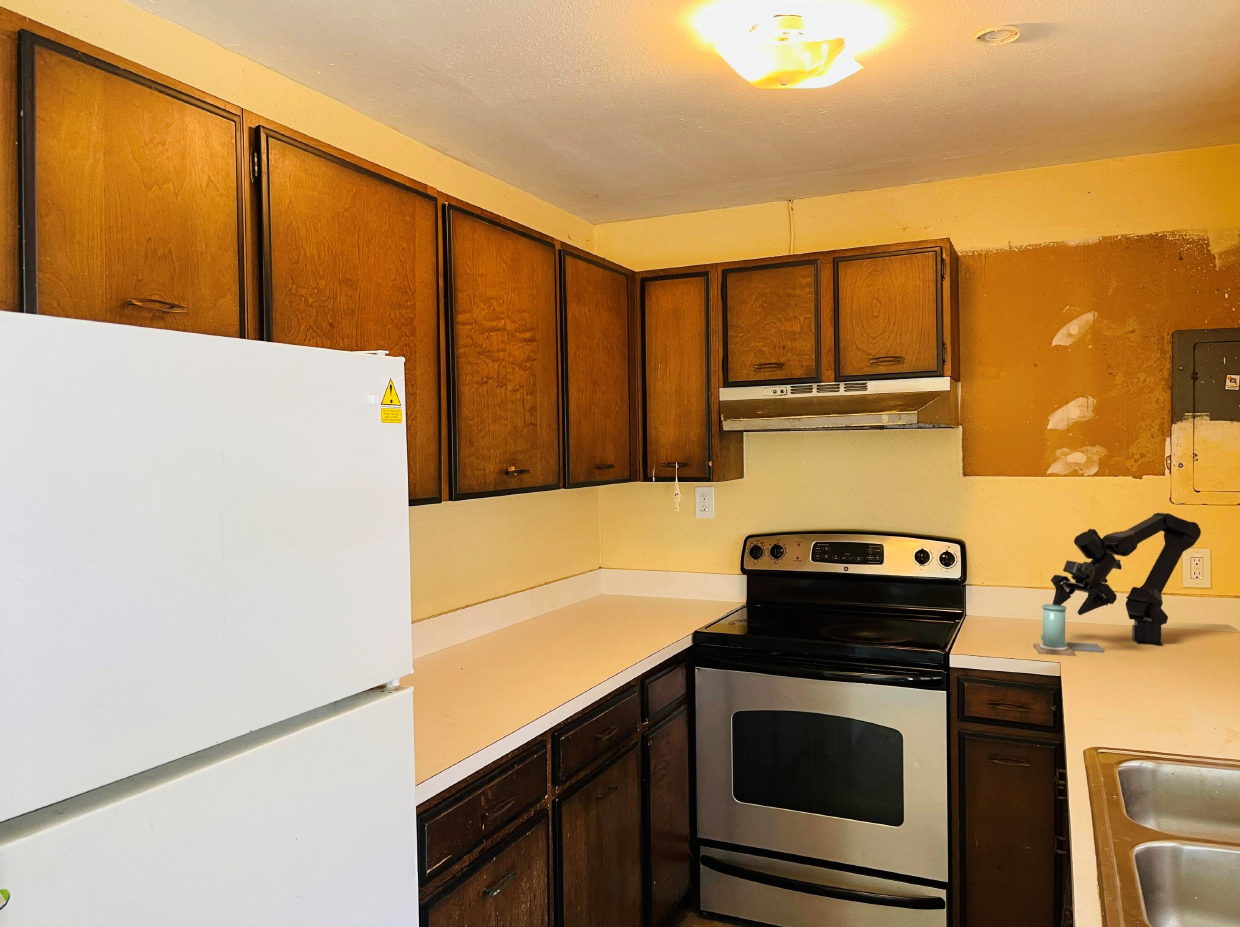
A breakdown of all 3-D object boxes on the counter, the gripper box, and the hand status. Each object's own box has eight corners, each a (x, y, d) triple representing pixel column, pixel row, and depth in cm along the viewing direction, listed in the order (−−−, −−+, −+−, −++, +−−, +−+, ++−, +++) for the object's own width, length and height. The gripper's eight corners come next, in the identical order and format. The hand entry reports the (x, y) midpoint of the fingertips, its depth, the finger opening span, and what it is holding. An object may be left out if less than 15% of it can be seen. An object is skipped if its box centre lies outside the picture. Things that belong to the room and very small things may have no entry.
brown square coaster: (1068, 648, 251) (1068, 642, 251) (1074, 655, 243) (1074, 650, 243) (1033, 646, 254) (1033, 641, 254) (1038, 653, 245) (1038, 648, 245)
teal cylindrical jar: (1063, 643, 250) (1063, 604, 250) (1067, 648, 245) (1068, 608, 244) (1039, 642, 252) (1039, 603, 252) (1042, 647, 246) (1043, 607, 246)
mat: (1097, 645, 254) (1097, 643, 254) (1103, 652, 247) (1103, 650, 247) (1066, 644, 257) (1066, 641, 257) (1072, 650, 249) (1072, 648, 249)
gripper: (1056, 546, 259) (1024, 586, 256) (1109, 554, 242) (1076, 597, 239) (1077, 572, 262) (1046, 612, 259) (1131, 582, 244) (1098, 624, 241)
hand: (1065, 610), depth 249 cm, fingers open, 9 cm apart
